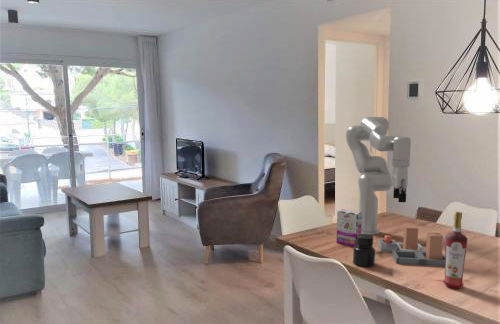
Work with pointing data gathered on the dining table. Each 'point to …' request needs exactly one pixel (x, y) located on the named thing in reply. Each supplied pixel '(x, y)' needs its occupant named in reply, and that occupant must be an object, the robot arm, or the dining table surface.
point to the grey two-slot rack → (416, 258)
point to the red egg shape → (387, 239)
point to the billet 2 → (434, 246)
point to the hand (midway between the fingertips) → (399, 200)
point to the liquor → (455, 254)
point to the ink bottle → (364, 251)
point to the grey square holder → (387, 246)
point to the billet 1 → (410, 237)
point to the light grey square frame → (410, 250)
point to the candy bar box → (348, 227)
